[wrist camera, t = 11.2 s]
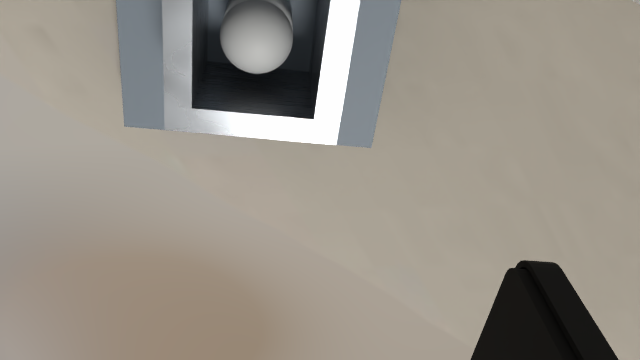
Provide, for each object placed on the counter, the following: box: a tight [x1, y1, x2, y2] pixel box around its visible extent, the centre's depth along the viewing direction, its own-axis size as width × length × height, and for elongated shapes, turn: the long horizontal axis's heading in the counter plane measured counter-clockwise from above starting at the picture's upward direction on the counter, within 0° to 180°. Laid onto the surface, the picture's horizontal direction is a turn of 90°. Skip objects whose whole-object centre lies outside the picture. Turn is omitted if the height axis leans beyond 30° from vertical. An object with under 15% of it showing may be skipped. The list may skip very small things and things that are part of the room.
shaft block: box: [116, 0, 401, 148], centre depth 23 cm, size 12×12×7 cm
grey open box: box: [162, 0, 360, 145], centre depth 22 cm, size 7×7×5 cm
